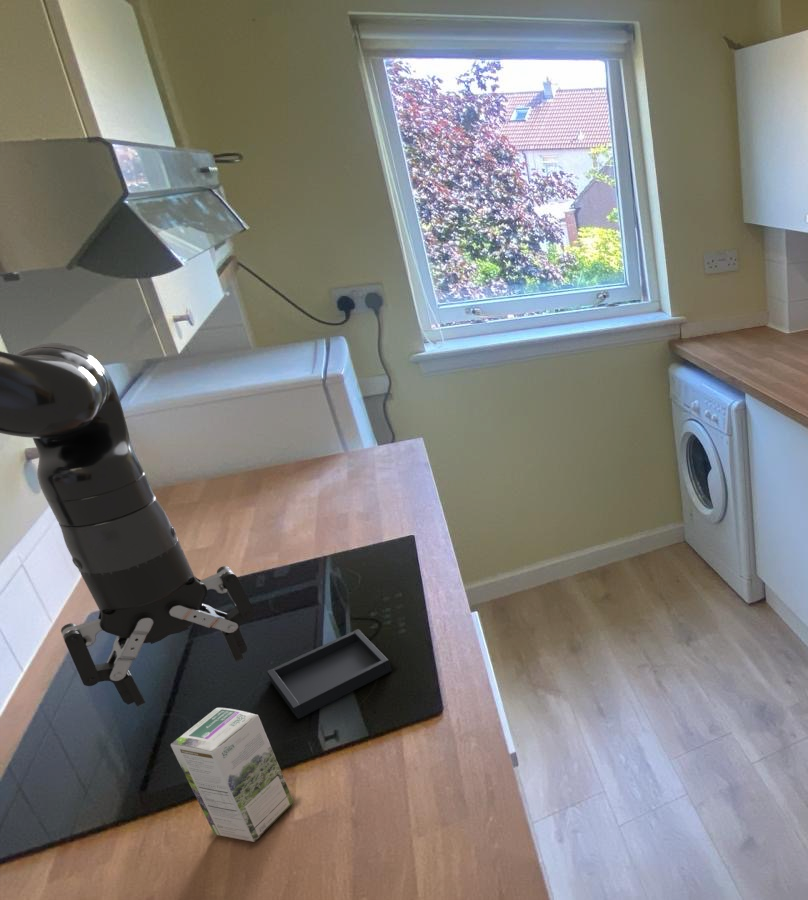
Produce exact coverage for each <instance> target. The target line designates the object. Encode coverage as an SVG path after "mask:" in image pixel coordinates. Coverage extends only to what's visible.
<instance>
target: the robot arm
mask: <svg viewBox="0 0 808 900" xmlns="http://www.w3.org/2000/svg"><path fill="white" fill-rule="evenodd" d="M0 434H3V435H7V436H13V437H19V438H20V437H21V438H28V439H29V438H30V439H32V440H33V443H34V445H35V447H36V450H37V455H38V465H37V470H36V475H37V480H38V484H39V487H40V489H41V492H42V494H43V496H44V498H45V500H46V502H47V504H48V505H49V508H50V509H51V511H52V513H53V515H54V517H55V519H56V521H57V522H58V525H59V528H60V529H61V533H62V538H63V540H64V543H65V546H66V548H67V550H68V553H69V554H70V556H71V560H72V563H73V565H74V566H75V567H76V568H77V570H78V572H79V573H80V575H81V577H82V579H83V581H84V583H85V585H86V587H87V589H88V591H89V592H90V594H91V597H92V598H93V600H94V602H95V605H96V606H97V608H98V610H99V614H98V618H96V619H93V620H90V621H87V622H83V623H80V624H77V623H74V622H73V623H71V622H70V623H67V624H65V625H63V626H62V627H61V628H60V633H61V635H62V638H63V641H64V643H65V646H66V648H67V650H68V652H69V654H70V657H71V660H72V662H73V664H74V667H75V668H76V671H77V673H78V675H79V677H80V680H81V682H82V684H83V685H84V686H85V687H93V686H95V685H98V683H100V682H111V683H113V685H114V687H115V688H116V690H117V692H118V694H119V697H120V698H121V699H122V702H123V703H125V704H126V705H131V704H133V703H134V704H135V706H136V707H140V706H141V705H143V704H146V701H145V698H144V696H143V694H142V692H141V691H140V689H139V686H138V685H137V683H136V681H135V679H134V677H133V675H132V673H131V671H130V670H129V669H130V667H131V665H132V663H133V661H134V660H136V659H137V657H138V655H139V653H140V650H141V648H142V646H143V644H150V645H153V644H155V643H158V642H160V641H162V640H164V639H166V638H167V637H168V636H171V635H175V634H180V633H182V632H185V631H187V630H189V629H190V628H189V627H191V625H193V624H196V625H199V626H202V627H204V628H208V629H211V628H212V629H215V630H218V631H220V634H221V636H222V638H223V641H224V642H225V645H226V647H227V649H228V651H229V654H230V655H231V657H232V659H233V660H234V662H236V663H237V662H239V661H241V660H243V659H244V656H243V654H245V653H247V651H248V650H247V648H248V647H247V644H246V642H245V640H244V637H243V634H242V632H241V630H240V627H241V625H242V624H243V623H245V622H246V621H249V620H252V619H253V618H254V617H255V616H256V610H255V608H254V607H253V606H252V604H251V601H250V599H249V598H248V596H247V593H246V592H245V590H244V588H243V586H242V584H241V582H240V581H239V578H238V576H237V575H236V574H235V572H234V571H233V570H232V569H231V568H230V567H229V566H227V565H223V566H220V567H219V568H218V569H217V570H216V573H215V574H212V575H210V576H208V577H204V578H203V579H200V578H197V577H196V576H195V574H194V572H193V569H192V568H191V565H190V563H189V560H188V559H187V556H186V554H185V552H184V550H183V547H182V545H181V542H180V541H179V539H178V536H177V531H176V528H175V527H174V526H173V525H172V523H171V521H170V519H169V516H168V514H167V512H166V511H165V509H164V507H163V506H162V505H161V503H160V502H159V500H158V499H157V497H156V495H155V493H154V490H153V488H152V486H151V483H150V481H149V479H148V477H147V475H146V472H145V470H144V468H143V466H142V464H141V462H140V460H139V459H138V458H137V455H136V453H135V451H134V448H133V445H132V441H131V438H130V433H129V429H128V425H127V420H126V417H125V414H124V409H123V405H122V403H121V400H120V396H119V394H118V391H117V388H116V385H115V383H114V381H113V379H112V376H111V375H110V374H109V372H108V370H107V368H106V367H105V366H104V365H103V364H102V362H101V361H100V360H99V359H97V358H96V356H94V355H92V354H91V353H89V352H88V351H85V350H84V349H82V348H80V347H77V346H74V345H71V344H68V343H67V344H66V343H60V342H45V343H37V344H35V345H31V346H27V347H24V348H23V349H21V350H19V351H18V352H16V353H9V352H5V351H2V350H0ZM209 590H213V591H216V592H217V593H218V594H222V595H223V594H226V593H227V595H228V597H229V599H230V601H231V603H232V604H233V607H234V608H233V609H232V610H230V611H229V612H224V611H222V610H219V609H216V608H214V607H212V606H210V605H209V604H205V603H204V601H205V598H206V596H207V593H208V591H209ZM102 631H103V632H105V633H107V634H111V635H114V636H116V637H115V640H114V641H113V645H112V649H111V652H110V655H109V656H108V658H107V661H106V662H104V663H97V664H95V663H94V660H93V658H92V655H91V653H90V651H89V649H88V647H90V646H92V645H94V644H95V643H96V641H97V635H98V633H100V632H102Z"/></svg>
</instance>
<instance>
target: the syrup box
mask: <svg viewBox="0 0 808 900" xmlns="http://www.w3.org/2000/svg"><path fill="white" fill-rule="evenodd" d="M170 748H171V750H172V751H173V754H174V756H175V758H176V760H177V762H178V764H179V765H180V768H181V769H182V772H183V775H184V776H185V778H186V780H187V782H188V784H189V786H190V788H191V790H192V792H193V794H194V796H195V798H196V799H197V802H198V804H199V806H200V808H201V810H202V812H203V814H204V816H205V819H206V820H207V823H208V824H209V827H210V829H211V831H212V833H213V834H214V835H216V836H220V837H226V838H230V839H236V840H241V841H247V842H251V843H252V842H253V843H255V842H257V841H258V840H259V838H261V836H263V834H264V833H265V832H266V831H268V829H269V828H270V827H271V826H272V825H273V824H274V823H275V822H276V821H277V820H278V819H279V818H280V817H281V816H282V815H283V814H284V813H285V812H286V811H287V810H288V809H289V808H290V807H291V806H292V805H293V803H294V799H293V797H292V794H291V792H290V789H289V787H288V784H287V782H286V779H285V777H284V774H283V772H282V769H281V767H280V765H279V763H278V761H277V758H276V755H275V753H274V750H273V748H272V746H271V742H270V741H269V738H268V736H267V733H266V731H265V728H264V726H263V723H262V720H261V719H260V716H259V714H255V713H252V712H249V711H245V710H239V709H236V708H235V709H234V708H227V707H216V708H214V709H213V710H212V711H211V712H209V713H207V715H205V716H204V717H203V718H202V719H200V720H199V721H198V722H197V723H195V724H194V725H193V726H192V727H190V728H189V729H188V730H186V731H185V732H184V733H183V734H181V735H180V736H179V737H177V738H176V739H175V740H174V741H173V742H171V743H170Z"/></svg>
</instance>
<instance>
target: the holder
mask: <svg viewBox="0 0 808 900" xmlns="http://www.w3.org/2000/svg"><path fill="white" fill-rule="evenodd" d="M391 672H393V669H392V666H391V663H390V660H389V659H388V658H387V657H386V655H384V654H383V652H381V650H379V649H378V647H376V645H375V644H374V643H373V642H372V641H370V640H369V638H367V636H365V634H364V633H363V632H362V631H361V630H360V629H359V628H358V629H355V630H353V631H350V632H349V633H346V634H345V635H344V634H343V635H342V636H340V637H338V638H336V639H333V640H331V641H329V642H327V643H324V644H323V645H320V646H318V647H316V648H314V649H311V650H309V651H308V652H305V653H304V654H301V655H299V656H296V657H295V658H293V659H290V660H289V661H287V662H284V663H282V664H279V665H277V666H275V667H272V668H271V669H269V670H267V671H266V673H267V675H268V677H269V680H270V682H271V684H272V685H273V686H274V688H275V690H276V691H277V693H278V694H279V695H280V697H281V698H282V699H283V701H284V702H285V704H286V705H287V707H289V709H290V710H291V712H292V713H293V714H294V716H295V717H296V719H297V720H300V719H302V718H304V717H306V716H308V715H309V714H311V713H314V712H315V711H317V710H319V709H321V708H323V707H325V706H327V705H329V704H331V703H333V702H334V701H337V700H339V699H341V698H343V697H345V696H346V695H348V694H351V693H352V692H355V691H357V690H358V689H360V688H361V687H364V686H366V685H367V684H370V683H372V682H373V681H376V680H377V679H379V678H381V677H383V676H385V675H387V674H389V673H391Z"/></svg>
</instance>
